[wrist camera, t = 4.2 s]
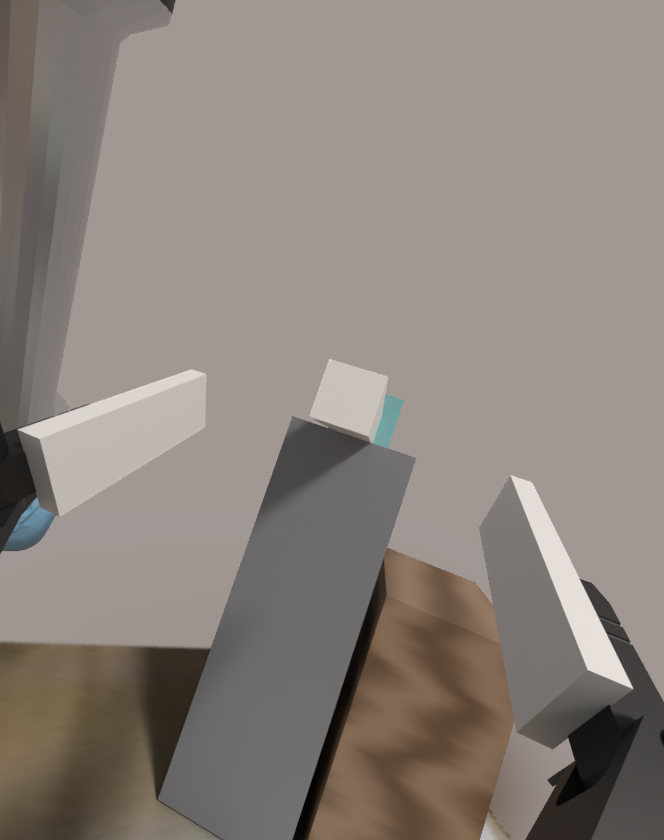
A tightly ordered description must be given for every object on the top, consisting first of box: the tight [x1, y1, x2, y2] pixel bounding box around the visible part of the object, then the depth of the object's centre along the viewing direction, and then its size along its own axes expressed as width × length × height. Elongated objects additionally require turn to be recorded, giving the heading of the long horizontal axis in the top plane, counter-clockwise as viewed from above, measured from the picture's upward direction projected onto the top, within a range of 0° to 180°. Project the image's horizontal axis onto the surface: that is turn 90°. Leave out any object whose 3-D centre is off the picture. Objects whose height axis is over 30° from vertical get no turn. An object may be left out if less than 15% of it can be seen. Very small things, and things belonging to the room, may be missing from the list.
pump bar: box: [310, 359, 404, 448], centre depth 25 cm, size 6×21×5 cm, turn 171°
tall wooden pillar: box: [302, 548, 514, 840], centre depth 27 cm, size 10×12×20 cm
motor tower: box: [158, 416, 416, 840], centre depth 29 cm, size 10×12×30 cm
